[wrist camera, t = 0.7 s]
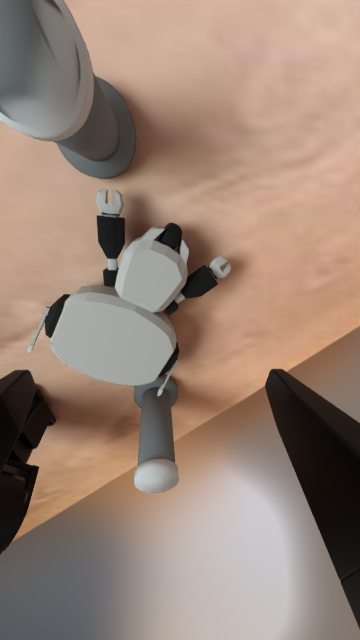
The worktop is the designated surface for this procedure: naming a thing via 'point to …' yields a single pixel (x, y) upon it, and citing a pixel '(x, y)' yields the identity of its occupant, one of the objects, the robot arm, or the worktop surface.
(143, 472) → the tube
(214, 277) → the robot toy
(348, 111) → the worktop surface
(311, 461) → the robot arm
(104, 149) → the tube
